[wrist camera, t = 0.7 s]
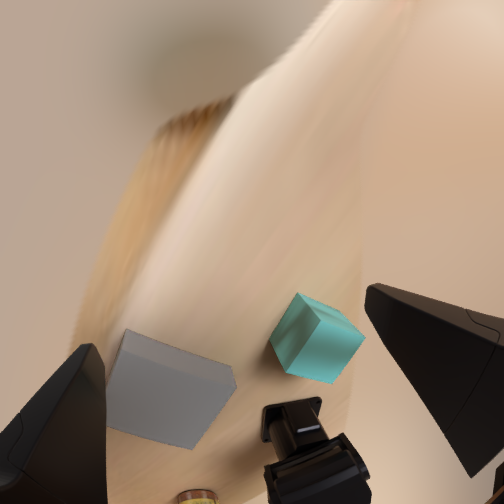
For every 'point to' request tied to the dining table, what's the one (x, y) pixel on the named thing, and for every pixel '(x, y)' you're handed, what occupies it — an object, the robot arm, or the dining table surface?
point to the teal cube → (314, 340)
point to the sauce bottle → (198, 497)
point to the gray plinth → (165, 391)
